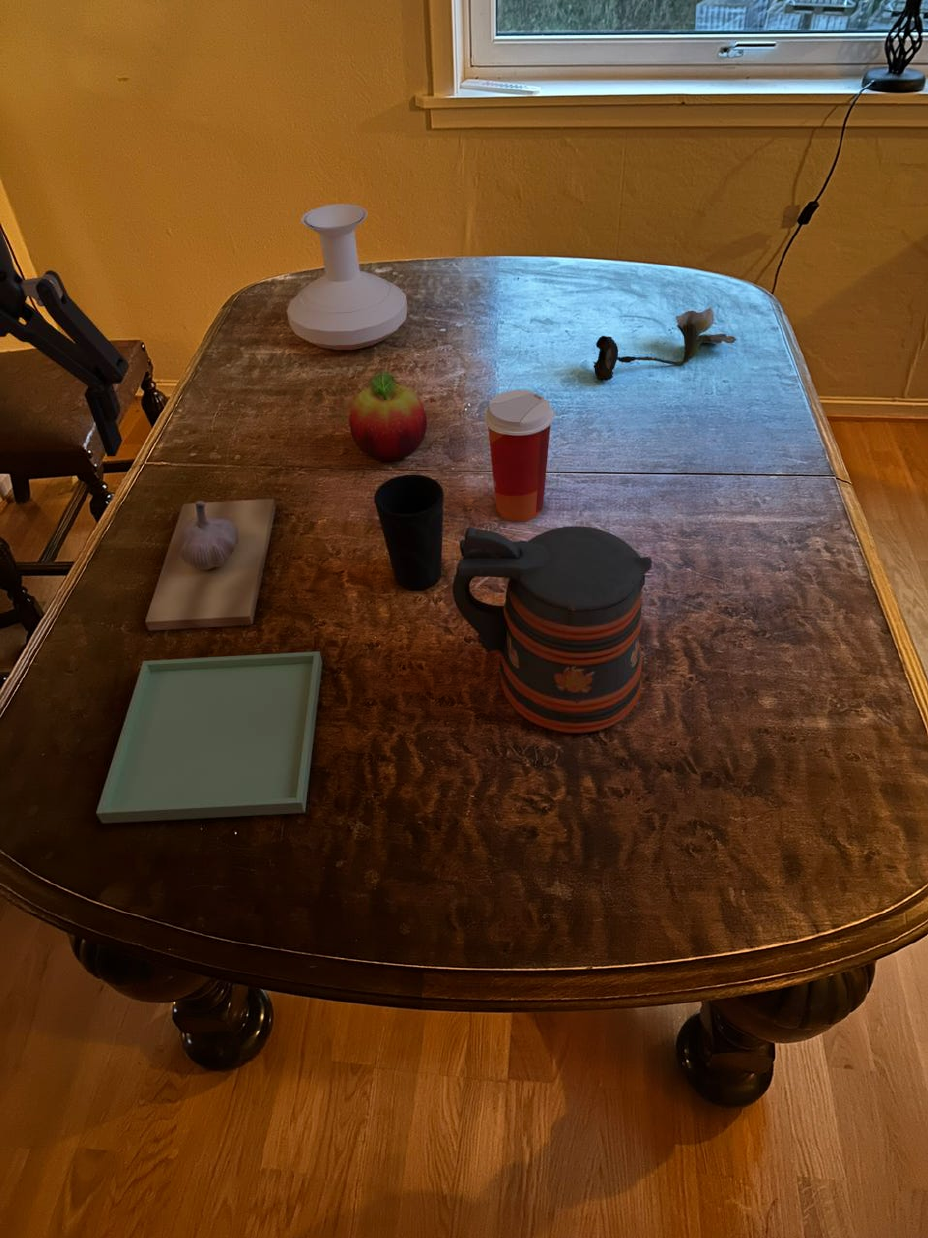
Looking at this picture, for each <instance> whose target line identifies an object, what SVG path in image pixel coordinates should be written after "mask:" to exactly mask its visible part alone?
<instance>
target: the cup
mask: <svg viewBox="0 0 928 1238" xmlns="http://www.w3.org/2000/svg"><path fill="white" fill-rule="evenodd" d="M444 494H445V493H444V488H443V487H442V486H441V484H440V483H439V482H438V481H437V480H436V479H434V478H432V477H429V476H427V475H423V474H415V473H414V474H402V475H398V476H395V477H391V478H390V479H388V480H386V481H384V482H383V483H382V484H381V485H379V486H378V488H377V489H376V491H375V493H374V496H373V499H374V505H375V509H376V512H377V516H378V519H379V524H380V527H381V531H382V534H383V538H384V542H385V546H386V550H387V553H388V557H389V561H390V564H391V568H392V573H393V576H394V580H395V581H396V584H397V585H398V586H400V587H401V588H403V589H404V590H408V591H411V592H419V591H420V592H421V591H425V590H428V589H430V588H433V587H434V586H436V585H437V584H438V583H439V582H440V580H441V577H442V566H443V565H442V563H443V532H444V531H443V529H444V526H443V525H444Z"/></svg>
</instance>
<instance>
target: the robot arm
mask: <svg viewBox="0 0 928 1238" xmlns="http://www.w3.org/2000/svg"><path fill="white" fill-rule="evenodd" d="M28 297H30V298H32V299H33V300H35V303H36V304H37V306H38V307H40V308H41V307H44V309H45V310H46V312H47V313H48V315H49V316H50V317H51V319H52V320H53V321H54V322H55V323H56V324H57V325H58V326H59V327H60V328H61V330H62V331H63V332H64V333H65V334H66V335H65V334H63V333H62V332H61V331H59V330H58V329H57V328H56V327H54V326H53V325H51V324H50V323H48V322H47V321H46V320H45V319H44V316H43V314H42V313H41V312H39V310H37V309H35V307H33V306H31V305H30V304H29V303H27V299H28ZM21 319H22V320H23V321H24V322H25V324H24V323H23V322H21V321H20V320H21ZM8 334H10V335H11V336H12V337H14V338H15V339H17V340H18V341H19V342H21V343H28V344H29V345H30V346H32V347H33V348H35V349H36V350H37V351H39V352H41V353H42V354H43V355H44V356H46V357H47V358H49V359H50V360H51V361H53V362H54V363H55V364H57V365H58V366H60V367H61V369H62V368H63V369H64V370H65V371H67V372H68V373H69V374H71V375H72V376H73V377H75V378H76V379H77V380H78V381H80V382H81V383H83V384H84V385H85V386H86V387H87V388H86V389H85V392H84V394H83V395H84V398H85V401H86V402H87V405H88V408H89V411H90V414H91V417H92V419H93V422H94V425H95V427H96V430H97V432H98V436H99V438H100V441H101V443H102V446H103V449H104V451H105V454H106V456H107V457H108V458H110V457H116V456H117V454H118V451H119V449H120V447H121V444H122V442H123V438H122V435H121V432H120V429H119V427H118V423H117V420H118V417H119V416H120V413H121V409H122V407H121V404H120V401H119V398H118V396H117V393H116V389H115V387H114V385H119V384H121V383H122V382H123V380H124V379H125V376H126V374H127V372H128V370H129V367H130V364H129V362H128V360H127V359H126V358H125V357H124V356H123V355H122V354H121V352H119V350H118V349H117V348H116V347H115V345H113V343H111V342H110V340H109V339H108V338H107V337H106V335H104V334H103V333H102V331H101V330H100V329H99V328H98V327H97V325H95V323H94V322H93V321H92V320H91V319H90V318H89V317H88V315H87V314H86V313H85V312H84V311H83V310H82V309H81V308H80V307H79V306H78V305H77V303H76V302H75V301H74V300H73V299H72V297H71V296H70V295H69V293H68V291H67V289H66V287H65V285H64V282H63V281H62V279H61V277H60V275H59V274H58V273H57V272H56V271H55V270H53V269H52V270H51V269H49V270H47V271H45V273H44V274H43V275H41V276H38V277H32V278H25V279H24V278H23V277H22V276H21V275H20V274H19V273H18V272H17V270H16V269H15V266H14V263H13V259H12V255H11V252H10V249H9V246H8V244H7V242H6V238H5V237H4V233H3V231H2V229H1V228H0V338H5V337H6V336H8Z"/></svg>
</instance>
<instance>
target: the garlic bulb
mask: <svg viewBox="0 0 928 1238" xmlns="http://www.w3.org/2000/svg"><path fill="white" fill-rule="evenodd" d="M195 503H196V510H197V517H196V518H193V519H191V520H190V521H189V522H188V524H187V526H186V527H185V528H184V529H183V531H182V532H181V535H180V546H181V550H180V554H181V557H182V559H183V560H184V562H185V563H187V564H188V565H191V566H193V567H194V568H196V569H200V570H208V569H211V568H213V567H220V566H222V565H224V564H225V563H226V562H227V560H228V558H229V556H230V555H231V554H232V552H233V550H234V547H235V546H236V545H237V543H238V530H237V527H236V526H235V524H234V523H232V522H231V521H229V520H227V519H219V518H213V517H210V516H205V503H206V502H204V501H203V500H197V501H196V502H195Z"/></svg>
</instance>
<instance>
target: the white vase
mask: <svg viewBox="0 0 928 1238" xmlns="http://www.w3.org/2000/svg"><path fill="white" fill-rule="evenodd" d="M368 215H369V212H368V211H367V210H366V209H365V207H362V206H359V205H356V204H347V203H339V204H337V203H335V204H328V205H323V206H319V207H315V208H312V209H310V210H308V211H307V212H305V213H304V214H302V216H301V218H300V222H301V224H302V225H303V226H305V227H307V228H309V229H310V230H311V231H314V232H315V233H317V234H318V237H319V243H320V248H321V256H322V261H323V267H324V274H323V275H321V276H320V277H318V278H316V279H315V280H313V281H312V282H309V283H308V284H307V285H306V286H305V287H304V288H303V289H302V290H300V292H299V293H298V294H296V295H295V296H294V297H293V298H292V299H291V300H290V301H289V304H288V307H287V309H286V314H287V319H288V324H289V326H290V328H291V329H292V331H293V333H294V334H295V335H296V336H298V337H299V338H302V340H305V341H307V342H309V343H311V344H313V345H315V346H317V347H319V348H321V349H328V350H334V351H355V350H359V349H363V348H367V347H372V346H374V345H376V344H378V343H381V342H383V341H384V340H386V339H387V338H389V337H390V336H391V335H393V333H395V332H396V331H397V330H398V329H399V328H400V327H401V326H402V324H404V323H405V322H406V320H407V314H408V300H407V295H406V294H405V293H404V292H403V290H402V289H401V288H400V287H399V286H398V285H395V284H394V283H392V282H390V281H388V280H386V279H385V278H383V277H380V276H378V275H375V274H373V273H370V272H366V271H363V270H361V269H360V264H359V262H360V261H359V255H358V247H357V240H356V233H355V230H356V229H357V228H358V227H359V226H360V225H361V224H362V223H363V222H364V221H365V220H366V219H367V217H368Z"/></svg>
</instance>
